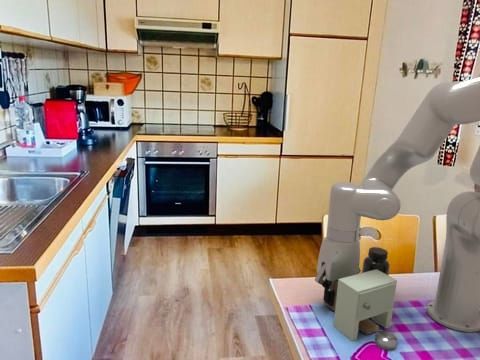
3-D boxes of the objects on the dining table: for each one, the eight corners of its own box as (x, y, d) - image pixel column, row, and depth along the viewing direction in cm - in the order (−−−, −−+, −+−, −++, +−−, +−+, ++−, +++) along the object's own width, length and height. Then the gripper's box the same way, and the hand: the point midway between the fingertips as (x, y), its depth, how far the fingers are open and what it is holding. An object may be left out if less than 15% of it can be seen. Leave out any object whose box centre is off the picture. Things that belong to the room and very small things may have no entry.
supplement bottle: (364, 297, 104) (369, 255, 101) (356, 284, 111) (361, 245, 108) (390, 297, 104) (395, 256, 102) (380, 284, 111) (385, 245, 108)
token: (384, 336, 88) (385, 328, 88) (400, 348, 84) (401, 340, 84) (370, 341, 86) (371, 333, 86) (385, 353, 82) (387, 345, 82)
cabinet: (370, 313, 97) (376, 269, 94) (394, 329, 90) (401, 282, 88) (333, 326, 91) (338, 279, 88) (355, 344, 85) (361, 294, 82)
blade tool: (335, 299, 102) (338, 271, 100) (378, 330, 89) (383, 299, 88) (323, 303, 100) (326, 274, 98) (366, 335, 88) (370, 303, 86)
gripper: (357, 223, 102) (349, 287, 106) (305, 233, 94) (299, 301, 98) (379, 233, 95) (370, 300, 100) (325, 244, 87) (319, 317, 92)
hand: (335, 300), depth 99 cm, fingers closed on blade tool, 4 cm apart
